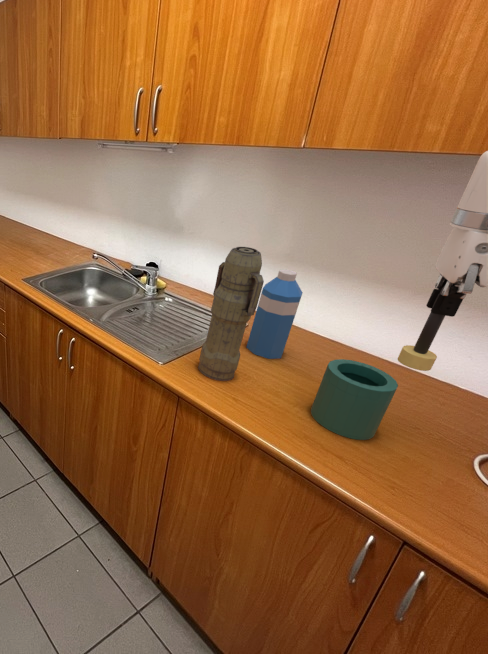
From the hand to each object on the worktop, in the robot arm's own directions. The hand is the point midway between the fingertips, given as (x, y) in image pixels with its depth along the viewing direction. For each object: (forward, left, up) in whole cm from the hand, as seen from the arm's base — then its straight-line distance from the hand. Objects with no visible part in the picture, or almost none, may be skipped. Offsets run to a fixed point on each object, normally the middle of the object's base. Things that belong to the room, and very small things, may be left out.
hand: (439, 310), depth 78 cm
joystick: (0, 0, -13) cm, 13 cm away
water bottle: (+23, -21, -29) cm, 42 cm away
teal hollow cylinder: (+8, +5, -29) cm, 30 cm away
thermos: (+34, -2, -29) cm, 45 cm away
